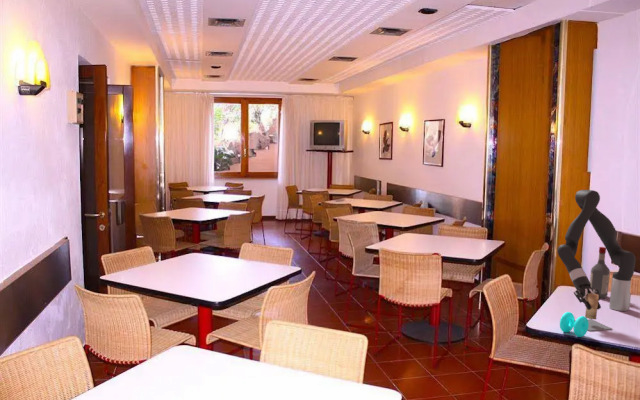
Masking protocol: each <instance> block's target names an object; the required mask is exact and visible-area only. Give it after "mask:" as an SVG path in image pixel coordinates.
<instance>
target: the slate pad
mask: <svg viewBox="0 0 640 400" xmlns="http://www.w3.org/2000/svg"><path fill="white" fill-rule="evenodd" d="M587 319H588V323H589V326H588V330H587V332H595V331H599V332H600V331H612V330H613V328H612V327H609V326H608V325H606V324H603V323H601V322H600V321H599V322H598V321H596V320H595V319H589V318H587ZM575 321H576V319H575Z"/></svg>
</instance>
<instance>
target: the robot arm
mask: <svg viewBox="0 0 640 400" xmlns="http://www.w3.org/2000/svg"><path fill="white" fill-rule="evenodd" d="M574 196H575V197H574V198H575V202H576V204H577V206H578V207H579V208H580V209H581V212H580V213H579V214H578V215H577V216H576V217H575V219H574V220H573V221H572V222H571V223H570V225H569V226H568V228H567V230H566V232H565V235H564V236H565V237H564V239H565V243H563V244H560V245H559V246H558V247H557V256H558V257H559V258H560V259H561V261H562V263H563V264H564V266H565V268H566V271H567V272H568V274H569V277H570V280H571V282H572V283H573V287H574V288H575V291H574V292H573V295H574V296H575V297H576V299H577V300H578V301H579V303H583V304H584V306H585V309H586V308H587V309H588V310H590V309H591V308H592V307H591V305H590V303H589V302H588V298H587V297H588V293H594V294H598V295H599V298H598V307H597V310H600V309H601V308H602V306H601V304H600V302H599V301H600V300H602V299H601V298H600V294H599V291H598V289H596V290H593V289H592V288H591V283H590V278H588V276H587V273H586V272H585V270H584V268H583V267H582V265H581V263H580V261H578V259H577V258H575V257H576V255H577V252H578V246H579V241H580V239H581V237H582V235H583V231H584V230H585V229H584V228H585V227H586V226H587V223H588V221H589V223H590V224H591V226H592V227H593V229H594V231H595V233H596V234H597V237H599V239H600V241H601V243H602V244H603V247H605V248H606V252H607V253H608V256H609V258H610V260H611V262H612V263H613V264H614V265H616V266H618V270H617V271H614V272H612V278H611V287H610V288H611V289H610V296H609V297H610V298H609V305H608V306H609V309H612V310H615V311H619V312H628V311H629V310H630V307H631V296H632V293H631V287H632V286H631V284H632V277H633V276H634V273H635V267H636V266H635V265H636V256H635V253H634V252H632V251H628V250H624V249H623V248H622V247H621V246H620V244H619V243H618V241H617V229H616V228H615V226H614V224H613V222H612V221H611V220H610V219H609V217H608V216H606V215H605V214H604V213H602V212H601V211H600V210H599V209H598V208H597V207H598V205H599V203H600V201H601V196H600V193H599V192H598V191H596V190H591V189H580V190H578V191H576V193H575V195H574Z"/></svg>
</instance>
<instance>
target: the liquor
mask: <svg viewBox="0 0 640 400" xmlns="http://www.w3.org/2000/svg"><path fill="white" fill-rule="evenodd" d="M598 248H599V250H598V258H597V259H598V260H597V263H596V264H594V265H593V266H592V267H591V269H590V277H589V281H590V283H591V288H592V289H593V290H596V289H598V291H599V294H600V298H601V300H602V299H605V298H607V297H608V292H609V285H610V275H611V270H610V268H609V267H608V266H607V265H606V261H605V260H606V252H607V249H606V247H605V246H599V247H598Z"/></svg>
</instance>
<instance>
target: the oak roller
mask: <svg viewBox="0 0 640 400" xmlns="http://www.w3.org/2000/svg"><path fill="white" fill-rule="evenodd" d="M587 298H588V302H589V303H590V305H591V307H592V308H591V309H590V310H588V309H587V308H586V307H585V313H584V314H585V315H584V317H586V318H587V319H592V320H596V319H597V313H598V309H597V307H598V302H599V301H598V298H599V295H598V294H594V293H588V297H587Z"/></svg>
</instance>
